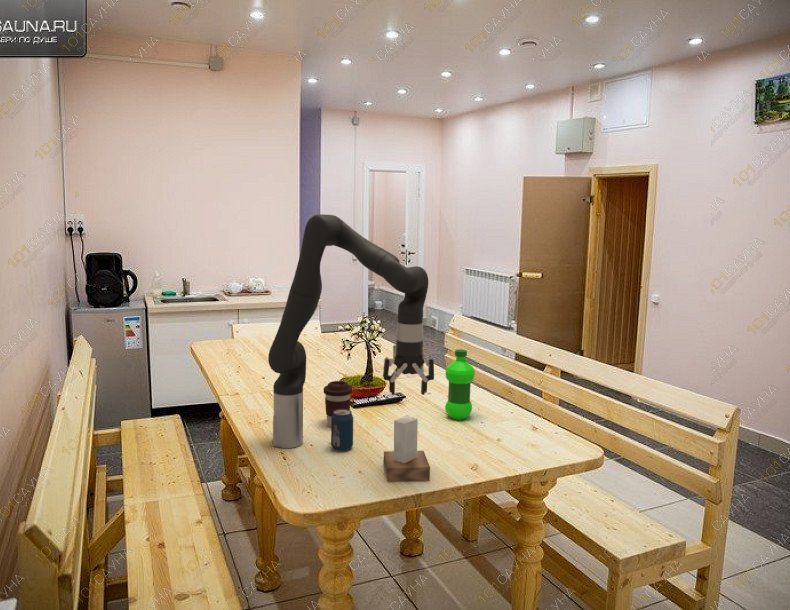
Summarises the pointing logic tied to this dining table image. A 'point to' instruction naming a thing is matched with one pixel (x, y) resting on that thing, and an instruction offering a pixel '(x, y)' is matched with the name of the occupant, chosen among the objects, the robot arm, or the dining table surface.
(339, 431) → the soda can
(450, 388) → the plastic bottle
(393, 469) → the walnut base
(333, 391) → the coffee cup
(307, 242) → the robot arm
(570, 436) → the dining table surface
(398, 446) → the skincare box
